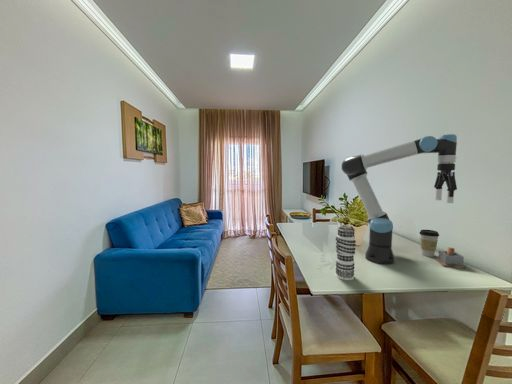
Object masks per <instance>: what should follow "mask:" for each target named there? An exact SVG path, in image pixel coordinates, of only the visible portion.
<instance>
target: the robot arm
mask: <svg viewBox="0 0 512 384" xmlns="http://www.w3.org/2000/svg"><path fill="white" fill-rule="evenodd" d="M457 138H458V137H457V135H456V134H451V133H449V134H448V133H447V134H442V135H440V136H438V138H436V137H434V135H433V136H432V135H427V136H424V137H422V138H419V139H415V140H412V141H407V142H405V143H402V144H398V145H395V146H392V147H388V148H385V149H381V150H378V151H375V152H371V153H367V154H365V155H364V154H359V155H353V156H349V157H346V158H345V159H344V160H343V161H342V162H341V170H342V172H343V173H344V174H345V175H346V176H347V178H348V180H349V181H350V182H352V183H353V185H354V187H355V190H356V192H357V194H358V195H359V198H360V200H361V202H362V205H363V206H364V208H365V211H366V213H367V221H368V224H369V234H368V236H369V238H368V240H369V242H368V247H367V249H366V252H365V254H364V255H365V259H366V260H367V261H369V262H372V263H376V264H382V265H391V264H394V263H395V255H394V251H393V248H392V244H393V230H394V225H393V222H392V220H391V219H390V217H389V215H388V213H387V212H385V211H383V208H382V207H381V204H380V203H379V201H378V199H377V197H376V194H375V192H374V190H373V188H372V186H371V183H370V182H369V180H368V177H367V176H368V172H367V169H368V168H371V167H375V166H379V165H383V164H386V163H390V162H394V161H397V160H401V159H404V158H409V157H412V156H416V155H421V154H437V168H436V169H437V171H438V172H437V173H436V179H435V183H434V186H433V188H435V199H434V200H435V201H442V197H443V196H442V195H443V186H444V184H446V187H447V189H446V204H454V198H455V197H454V196H455V191H457V189H458V187H457V181H456V176H455V175H456V172H455V169H456V164H455V163H456V159H457V146H458V142H457V140H458V139H457Z"/></svg>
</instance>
